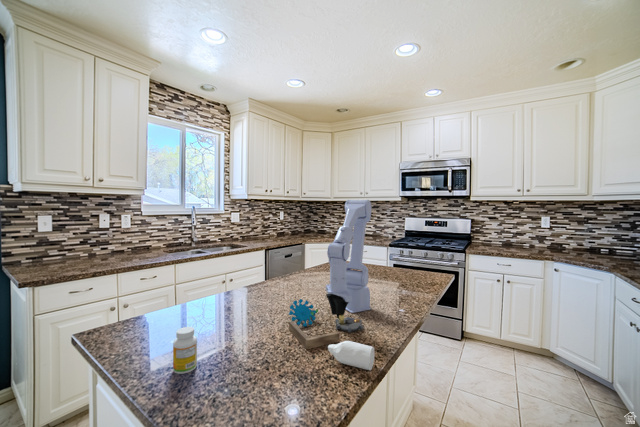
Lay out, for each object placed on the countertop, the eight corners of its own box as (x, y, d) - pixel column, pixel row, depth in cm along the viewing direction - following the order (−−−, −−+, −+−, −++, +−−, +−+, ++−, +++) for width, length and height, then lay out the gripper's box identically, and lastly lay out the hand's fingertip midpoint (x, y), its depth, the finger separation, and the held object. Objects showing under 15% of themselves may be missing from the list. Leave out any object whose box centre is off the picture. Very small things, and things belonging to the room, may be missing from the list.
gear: (292, 325, 92) (288, 297, 99) (286, 333, 96) (283, 305, 102) (322, 324, 97) (316, 298, 103) (315, 332, 100) (310, 306, 107)
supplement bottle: (178, 362, 73) (178, 325, 72) (200, 361, 73) (200, 325, 73) (169, 375, 67) (169, 335, 67) (192, 374, 68) (192, 334, 68)
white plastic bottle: (332, 352, 79) (332, 333, 78) (374, 363, 74) (375, 342, 74) (324, 363, 73) (324, 342, 73) (369, 375, 68) (369, 352, 68)
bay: (318, 323, 98) (318, 316, 98) (339, 341, 85) (339, 332, 85) (288, 329, 93) (288, 321, 93) (306, 349, 80) (306, 340, 80)
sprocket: (353, 319, 102) (353, 306, 102) (368, 329, 94) (369, 315, 94) (329, 324, 97) (329, 311, 97) (343, 335, 89) (343, 321, 89)
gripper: (318, 273, 101) (318, 310, 102) (338, 283, 89) (338, 326, 89) (335, 271, 105) (334, 307, 105) (357, 281, 92) (356, 322, 92)
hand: (337, 316), depth 97 cm, fingers open, 3 cm apart
